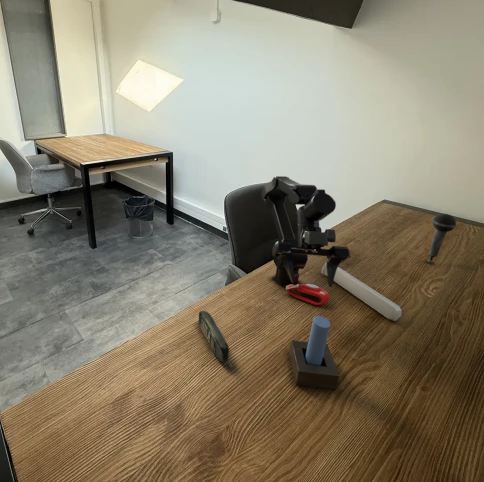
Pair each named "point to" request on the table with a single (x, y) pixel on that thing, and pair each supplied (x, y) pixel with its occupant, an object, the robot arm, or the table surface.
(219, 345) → the mobile phone
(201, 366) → the table surface
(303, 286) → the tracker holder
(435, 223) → the microphone
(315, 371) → the stand
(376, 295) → the tube
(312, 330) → the peg
